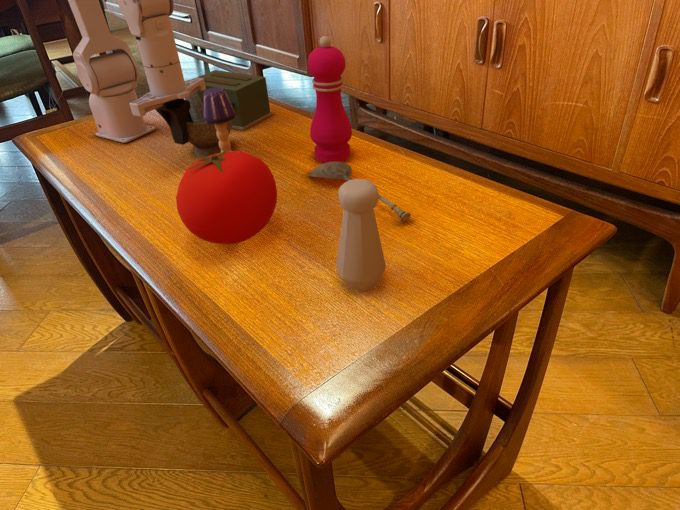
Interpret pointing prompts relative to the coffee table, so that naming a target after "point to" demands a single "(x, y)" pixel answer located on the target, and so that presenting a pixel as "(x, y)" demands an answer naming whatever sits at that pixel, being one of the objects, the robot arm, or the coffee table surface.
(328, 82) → the pepper mill
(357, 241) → the salt shaker
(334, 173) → the soupspoon
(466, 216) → the coffee table surface
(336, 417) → the coffee table surface
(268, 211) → the tomato
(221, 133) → the toy lamp
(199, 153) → the mortar and pestle
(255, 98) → the toaster
